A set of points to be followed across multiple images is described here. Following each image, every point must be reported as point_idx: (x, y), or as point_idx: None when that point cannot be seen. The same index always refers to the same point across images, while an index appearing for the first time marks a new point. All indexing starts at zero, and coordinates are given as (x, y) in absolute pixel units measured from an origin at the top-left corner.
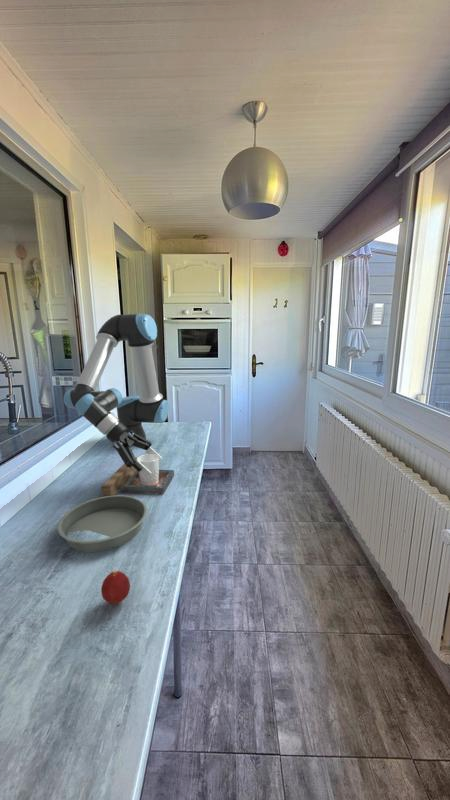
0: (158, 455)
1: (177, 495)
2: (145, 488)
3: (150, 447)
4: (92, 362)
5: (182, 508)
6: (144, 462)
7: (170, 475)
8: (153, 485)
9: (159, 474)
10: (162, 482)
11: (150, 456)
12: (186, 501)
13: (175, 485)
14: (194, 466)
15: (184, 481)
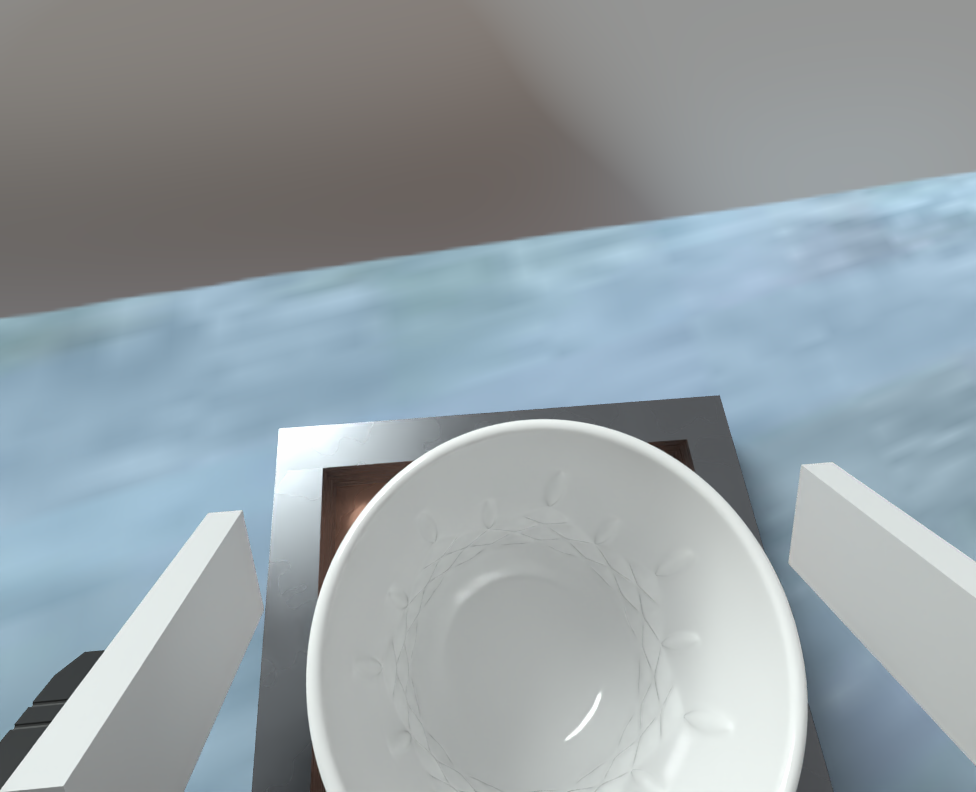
0: (209, 562)
1: (679, 311)
2: None
3: (57, 769)
4: None
5: (840, 230)
6: (786, 615)
7: (428, 420)
8: None
9: None
10: None
11: (339, 679)
12: (742, 230)
13: (510, 378)
14: (74, 329)
15: (420, 328)
